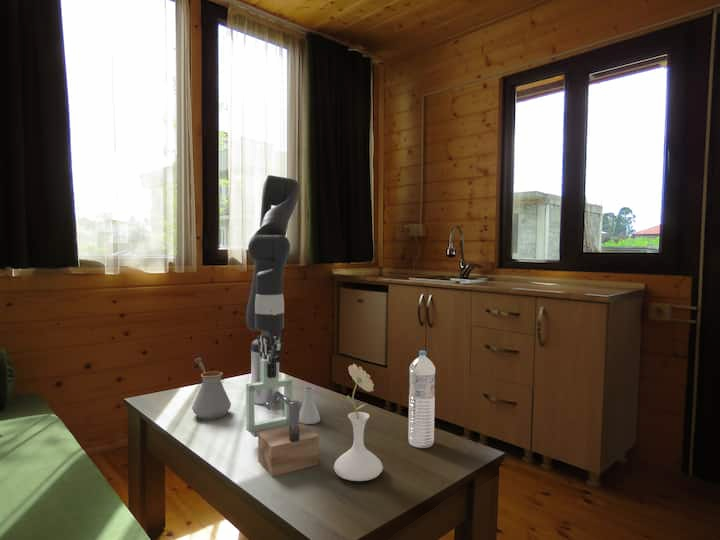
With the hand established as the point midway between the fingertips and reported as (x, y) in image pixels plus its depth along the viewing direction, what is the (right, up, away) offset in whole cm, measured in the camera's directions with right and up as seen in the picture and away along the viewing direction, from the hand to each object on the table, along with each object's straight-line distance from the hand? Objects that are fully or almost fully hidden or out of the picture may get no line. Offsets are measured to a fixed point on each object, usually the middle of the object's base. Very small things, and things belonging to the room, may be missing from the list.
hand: (269, 375), depth 124 cm
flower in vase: (+23, -19, -14) cm, 33 cm away
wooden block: (+6, -19, -10) cm, 22 cm away
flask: (+8, -18, +18) cm, 26 cm away
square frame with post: (0, -15, +1) cm, 15 cm away
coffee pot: (-25, -17, +25) cm, 39 cm away
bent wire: (+4, -12, -6) cm, 13 cm away
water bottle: (+40, -19, +2) cm, 44 cm away
